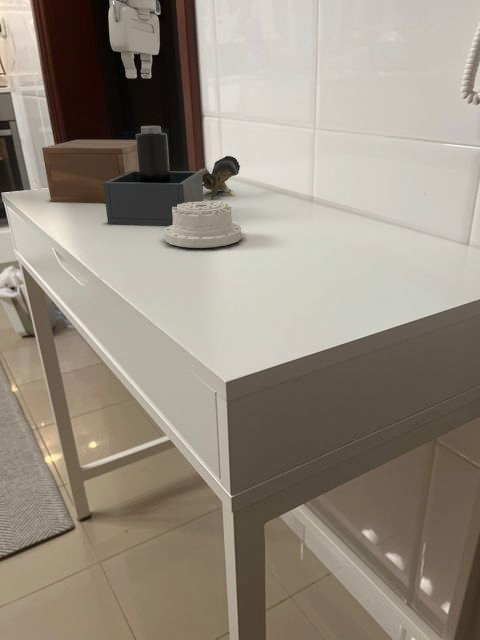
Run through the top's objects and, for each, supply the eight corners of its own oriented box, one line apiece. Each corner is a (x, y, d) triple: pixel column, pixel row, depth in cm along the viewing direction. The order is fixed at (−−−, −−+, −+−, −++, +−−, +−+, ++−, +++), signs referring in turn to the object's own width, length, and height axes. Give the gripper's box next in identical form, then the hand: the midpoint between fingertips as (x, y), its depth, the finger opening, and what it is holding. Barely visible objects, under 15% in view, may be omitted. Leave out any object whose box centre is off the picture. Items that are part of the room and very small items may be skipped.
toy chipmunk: (244, 193, 96) (249, 175, 103) (219, 157, 93) (227, 141, 100) (209, 215, 99) (217, 196, 106) (184, 182, 96) (194, 164, 103)
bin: (107, 224, 81) (102, 182, 78) (134, 207, 91) (130, 170, 89) (185, 226, 79) (183, 184, 77) (203, 209, 90) (202, 171, 87)
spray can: (139, 213, 83) (130, 127, 78) (148, 207, 87) (140, 125, 82) (167, 214, 83) (161, 127, 77) (175, 208, 87) (169, 125, 81)
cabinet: (83, 187, 108) (77, 139, 104) (152, 188, 107) (148, 140, 103) (50, 201, 96) (41, 147, 92) (127, 203, 94) (121, 148, 91)
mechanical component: (199, 255, 66) (257, 239, 73) (197, 218, 64) (257, 204, 71) (149, 240, 72) (206, 227, 79) (145, 206, 70) (204, 195, 77)
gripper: (129, -8, 100) (137, 78, 106) (162, 6, 118) (167, 78, 124) (96, -7, 101) (105, 78, 107) (133, 6, 119) (140, 78, 125)
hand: (139, 78), depth 116 cm, fingers open, 8 cm apart
